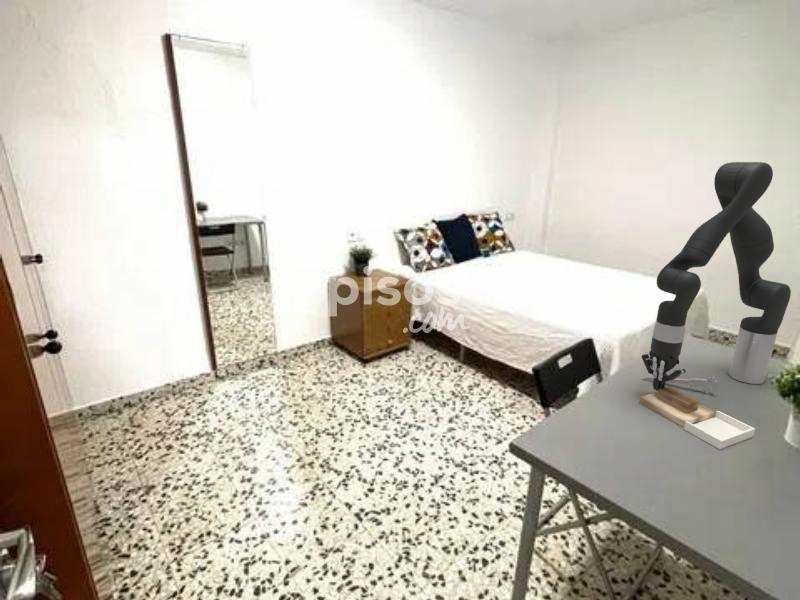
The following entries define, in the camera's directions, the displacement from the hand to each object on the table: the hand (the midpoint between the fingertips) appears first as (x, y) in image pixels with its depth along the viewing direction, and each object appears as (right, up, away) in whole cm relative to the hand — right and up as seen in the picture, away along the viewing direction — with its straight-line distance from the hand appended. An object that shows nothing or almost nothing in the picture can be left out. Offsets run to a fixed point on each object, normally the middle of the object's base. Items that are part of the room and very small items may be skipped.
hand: (657, 389), depth 125 cm
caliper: (+11, -1, +8) cm, 14 cm away
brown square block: (+2, -3, -3) cm, 4 cm away
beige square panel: (+2, -5, -4) cm, 7 cm away
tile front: (+3, -4, -7) cm, 9 cm away
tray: (+7, -8, -15) cm, 18 cm away
